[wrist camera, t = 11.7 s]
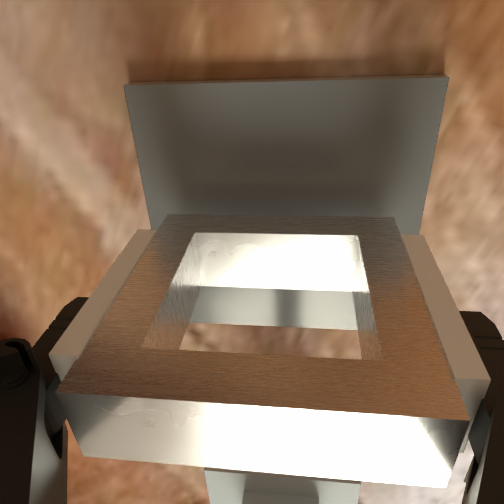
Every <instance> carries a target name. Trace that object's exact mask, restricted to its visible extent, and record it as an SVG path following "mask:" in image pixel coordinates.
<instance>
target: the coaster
mask: <svg viewBox="0 0 504 504" xmlns="http://www.w3.org/2000/svg"><path fill="white" fill-rule="evenodd" d="M448 81H449V77H448V76H446V75H445V74H438V75H399V76H360V77H321V78H283V79H244V80H205V81H166V82H129V83H127V84H125V85H124V91H125V96H126V101H127V106H128V111H129V116H130V122H131V127H132V132H133V137H134V142H135V147H136V152H137V158H138V163H139V168H140V173H141V178H142V183H143V188H144V194H145V199H146V204H147V209H148V214H149V219H150V225H151V230H158V228H159V227H160V225H161V223H162V222H163V220H164V219H165V217H166V216H167V214H214V215H286V216H359V217H394V218H395V221H396V223H397V226H398V229H399V231H400V234H408V235H419V231H420V225H421V220H422V215H423V210H424V205H425V200H426V194H427V189H428V184H429V179H430V174H431V168H432V163H433V158H434V153H435V148H436V143H437V137H438V132H439V127H440V122H441V117H442V112H443V106H444V101H445V96H446V91H447V86H448ZM189 322H192V323H214V324H236V325H258V326H280V327H302V328H323V329H345V330H358V328H357V321H356V314H355V307H354V300H353V293H352V291H332V290H303V289H275V288H246V287H218V286H202V287H201V290H200V293H199V295H198V298H197V301H196V304H195V306H194V309H193V312H192V315H191V318H190V320H189Z"/></svg>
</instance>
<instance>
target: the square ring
mask: <svg viewBox="0 0 504 504" xmlns="http://www.w3.org/2000/svg"><path fill="white" fill-rule="evenodd" d="M202 286H218V287H246V288H275V289H303V290H332V291H352V293H353V300H354V307H355V314H356V321H357V328H358V335H359V342H360V349H361V356H362V360H354V359H336V358H318V357H299V356H281V355H262V354H244V353H225V352H207V351H188V350H179V348H180V345H181V342H182V340H183V337H184V334H185V331H186V329H187V326H188V323H189V320H190V318H191V315H192V312H193V309H194V306H195V304H196V301H197V298H198V295H199V293H200V290H201V287H202ZM56 395H57V397H58V399H59V402H60V404H61V406H62V408H63V411H64V413H65V415H66V418H67V420H68V422H69V424H70V427H71V429H72V431H73V434H74V436H75V438H76V440H77V443H78V445H79V447H80V450H81V452H82V454H83V456H86V457H98V458H109V459H120V460H132V461H143V462H154V463H166V464H177V465H188V466H200V467H211V468H222V469H234V470H245V471H256V472H268V473H279V474H290V475H302V476H313V477H324V478H335V479H347V480H358V481H369V482H381V483H392V484H403V485H415V486H426V487H437V488H446V486H447V483H448V480H449V478H450V475H451V472H452V470H453V467H454V464H455V462H456V459H457V456H458V453H459V451H460V448H461V445H462V443H463V440H464V437H465V435H466V432H467V429H468V426H469V424H470V421H471V420H470V418H469V415H468V412H467V410H466V407H465V404H464V402H463V399H462V396H461V394H460V391H459V388H458V386H457V383H456V380H454V377H453V375H452V372H451V369H450V367H449V364H448V361H447V358H446V356H445V353H444V350H443V348H442V345H441V342H440V340H439V337H438V334H437V332H436V329H435V326H434V324H433V321H432V318H431V316H430V313H429V310H428V308H427V305H426V302H425V299H424V297H423V294H422V291H421V289H420V286H419V283H418V281H417V278H416V275H415V273H414V270H413V267H412V265H411V262H410V259H409V257H408V254H407V251H406V249H405V246H404V243H403V240H402V238H401V234H400V231H399V229H398V226H397V223H396V221H395V218H394V217H359V216H286V215H214V214H167V216H166V217H165V219H164V220H163V222H162V223H161V225H160V227H159V228H158V230H157V232H156V233H155V235H154V237H153V238H152V240H151V241H150V243H149V245H148V246H147V248H146V249H145V251H144V253H143V254H142V256H141V257H140V259H139V261H138V262H137V264H136V265H135V267H134V269H133V270H132V272H131V273H130V275H129V277H128V278H127V280H126V281H125V283H124V284H123V286H122V288H121V289H120V291H119V292H118V294H117V296H116V297H115V299H114V300H113V302H112V304H111V305H110V307H109V308H108V310H107V312H106V313H105V315H104V316H103V318H102V320H101V321H100V323H99V324H98V326H97V328H96V329H95V331H94V332H93V334H92V336H91V337H90V339H89V340H88V342H87V343H86V345H85V347H84V348H83V350H82V351H81V353H80V355H79V356H78V358H76V360H75V361H74V363H73V365H72V366H71V368H70V369H69V371H68V373H67V374H66V376H65V377H64V379H63V380H62V382H61V384H60V385H59V387H58V388H57V390H56Z"/></svg>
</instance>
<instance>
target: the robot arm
mask: <svg viewBox="0 0 504 504" xmlns="http://www.w3.org/2000/svg"><path fill="white" fill-rule="evenodd" d="M156 232H157V230H137V231H136V233H135V234H134V235H133V237H132V238H131V240H130V241H129V242H128V244H127V245H126V247H125V248H124V249H123V251H122V252H121V254H120V255H119V256H118V258H117V259H116V261H115V262H114V263H113V265H112V266H111V268H110V269H109V270H108V272H107V273H106V275H105V276H104V277H103V279H102V280H101V282H100V283H99V284H98V286H97V287H96V289H95V290H94V291H93V293H92V294H91V295H90V297H89V298H88V297H77V298H76V299H74V300H73V301H71V302H70V303H69V304H67V305H66V306H64V308H63V309H62V310H61V311H60V313H59V314H58V315H57V317H56V320H53V322H52V323H51V324H50V326H49V329H47V330H46V331H45V332H44V333H43V335H42V336H41V337H40V339H39V340H38V341H37V342H36V344H35V345H34V346H33V348H32V347H31V345H30V343H29V342H28V341H26V340H25V339H20V338H11V339H5V340H2V341H0V504H67V453H68V431H67V427H66V424H65V420H66V415H65V413H64V411H63V408H62V406H61V404H60V402H59V399H58V397H57V395H56V390H57V388H58V387H59V385H60V384H61V382H62V380H63V379H64V377H65V376H66V374H67V373H68V371H69V369H70V368H71V366H72V365H73V363H74V361H75V360H76V358H78V356H79V355H80V353H81V351H82V350H83V348H84V347H85V345H86V343H87V342H88V340H89V339H90V337H91V336H92V334H93V332H94V331H95V329H96V328H97V326H98V324H99V323H100V321H101V320H102V318H103V316H104V315H105V313H106V312H107V310H108V308H109V307H110V305H111V304H112V302H113V300H114V299H115V297H116V296H117V294H118V292H119V291H120V289H121V288H122V286H123V284H124V283H125V281H126V280H127V278H128V277H129V275H130V273H131V272H132V270H133V269H134V267H135V265H136V264H137V262H138V261H139V259H140V257H141V256H142V254H143V253H144V251H145V249H146V248H147V246H148V245H149V243H150V241H151V240H152V238H153V237H154V235H155V233H156ZM401 238H402V240H403V243H404V246H405V249H406V251H407V254H408V257H409V259H410V262H411V265H412V267H413V270H414V273H415V275H416V278H417V281H418V283H419V286H420V289H421V291H422V294H423V297H424V299H425V302H426V305H427V308H428V310H429V313H430V316H431V318H432V321H433V324H434V326H435V329H436V332H437V334H438V337H439V340H440V342H441V345H442V348H443V350H444V353H445V356H446V358H447V361H448V364H449V367H450V369H451V372H452V375H453V377H454V380H456V383H457V386H458V388H459V391H460V394H461V396H462V399H463V402H464V404H465V407H466V410H467V412H468V415H469V418H470V420H471V421H470V424H469V426H468V429H467V432H466V435H465V437H464V440H463V443H462V445H461V448H460V451H459V452H462V453H464V450H465V447H466V445H467V442H468V439H469V441H470V444H471V447H472V450H473V452H474V457H473V460H472V462H471V465H470V467H469V470H468V472H467V474H466V477H465V479H464V482H466V487H465V491H464V496H463V500H462V504H504V340H502V336H501V335H500V333H499V331H498V329H497V327H496V326H495V324H494V323H493V322H492V321H491V320H490V319H488V318H487V317H486V316H485V315H484V314H483V313H481V312H471V311H459V310H458V308H457V306H456V304H455V302H454V300H453V298H452V295H451V293H450V291H449V289H448V287H447V285H446V283H445V281H444V278H443V276H442V274H441V272H440V270H439V268H438V266H437V263H436V261H435V259H434V257H433V255H432V253H431V251H430V249H429V246H428V244H427V242H426V240H425V238H424V236H423V235H408V234H401Z"/></svg>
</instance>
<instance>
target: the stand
mask: <svg viewBox="0 0 504 504" xmlns="http://www.w3.org/2000/svg"><path fill="white" fill-rule="evenodd" d="M204 472H205V478H206V484H207V489H208V495H209V500H210V504H358V498H359V492H360V486H361V481H358V480H347V479H335V478H324V477H313V476H302V475H290V474H279V473H268V472H256V471H245V470H234V469H222V468H211V467H205V469H204Z"/></svg>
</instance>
